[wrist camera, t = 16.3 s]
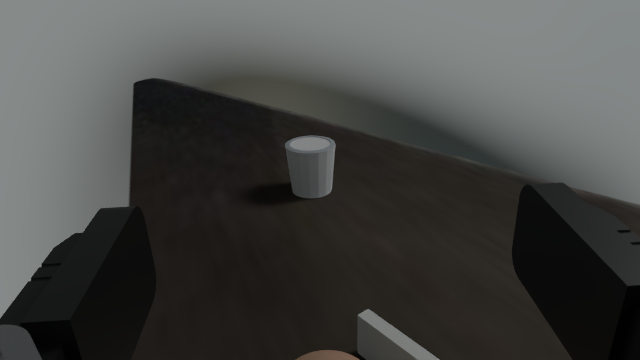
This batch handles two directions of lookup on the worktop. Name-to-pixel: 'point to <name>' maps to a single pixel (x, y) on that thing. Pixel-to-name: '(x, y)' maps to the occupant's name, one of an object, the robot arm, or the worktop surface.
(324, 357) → the cylinder
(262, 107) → the worktop surface
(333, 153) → the shot glass
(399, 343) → the wall
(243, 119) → the worktop surface
